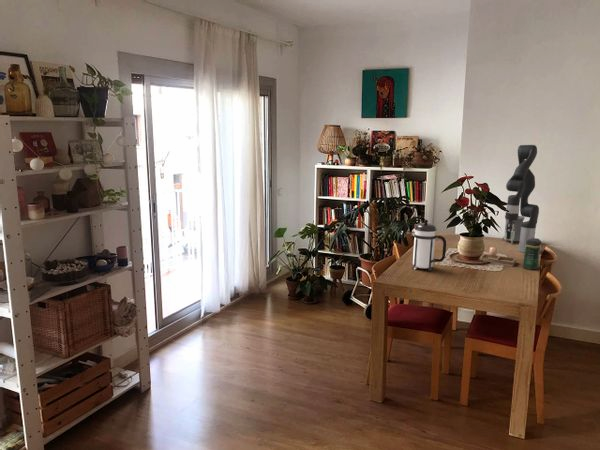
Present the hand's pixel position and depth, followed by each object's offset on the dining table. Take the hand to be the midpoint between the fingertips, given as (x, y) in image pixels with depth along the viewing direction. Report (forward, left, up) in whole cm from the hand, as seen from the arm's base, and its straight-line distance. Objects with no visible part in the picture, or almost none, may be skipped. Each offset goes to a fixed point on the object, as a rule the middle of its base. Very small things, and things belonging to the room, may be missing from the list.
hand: (509, 238), depth 307 cm
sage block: (0, 0, 0) cm, 0 cm away
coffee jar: (+7, +15, -16) cm, 23 cm away
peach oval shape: (-7, -10, -15) cm, 20 cm away
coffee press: (+47, -38, -16) cm, 62 cm away
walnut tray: (+5, -5, -15) cm, 17 cm away
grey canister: (-61, -7, -16) cm, 64 cm away
